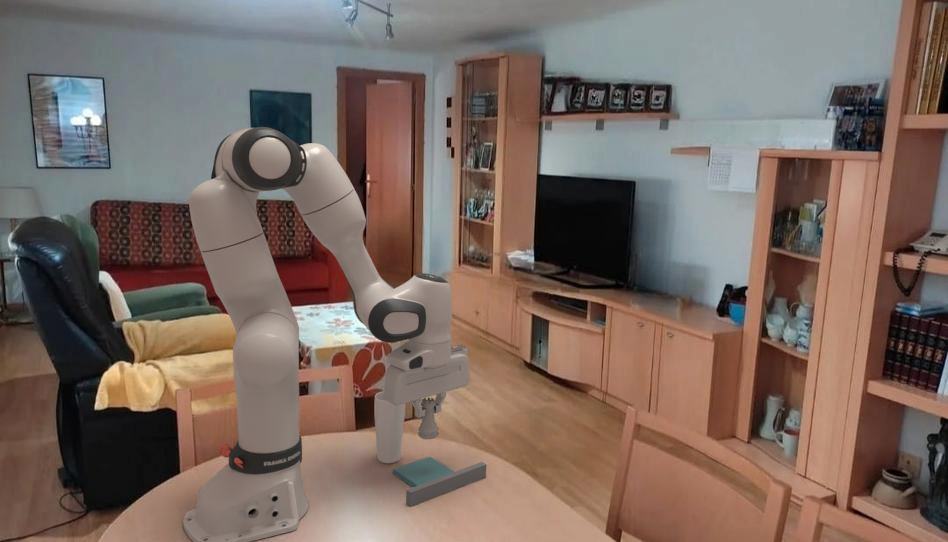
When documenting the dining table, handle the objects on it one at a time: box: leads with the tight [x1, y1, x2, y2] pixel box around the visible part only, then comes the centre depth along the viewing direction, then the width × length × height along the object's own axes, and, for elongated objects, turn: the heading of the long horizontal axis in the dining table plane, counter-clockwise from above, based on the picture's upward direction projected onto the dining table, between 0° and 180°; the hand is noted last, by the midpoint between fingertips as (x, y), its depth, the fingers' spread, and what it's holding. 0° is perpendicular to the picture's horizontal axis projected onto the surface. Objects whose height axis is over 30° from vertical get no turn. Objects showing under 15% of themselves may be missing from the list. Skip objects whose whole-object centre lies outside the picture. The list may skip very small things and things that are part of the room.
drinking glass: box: [373, 390, 406, 464], centre depth 154 cm, size 7×7×15 cm
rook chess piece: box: [417, 397, 440, 440], centre depth 146 cm, size 4×4×8 cm
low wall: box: [405, 461, 488, 507], centre depth 143 cm, size 20×2×3 cm, turn 131°
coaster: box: [392, 456, 456, 488], centre depth 149 cm, size 10×10×1 cm
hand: (428, 414), depth 146 cm, fingers closed on rook chess piece, 3 cm apart
